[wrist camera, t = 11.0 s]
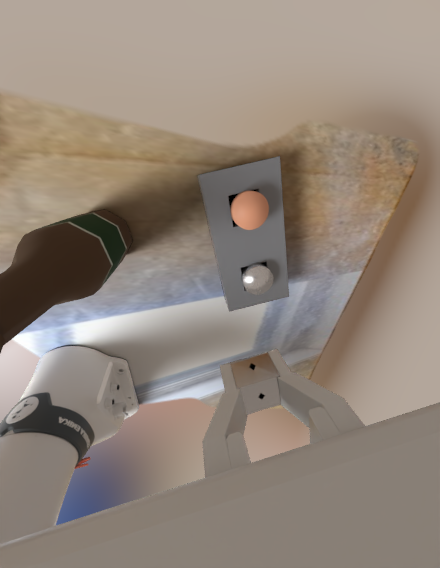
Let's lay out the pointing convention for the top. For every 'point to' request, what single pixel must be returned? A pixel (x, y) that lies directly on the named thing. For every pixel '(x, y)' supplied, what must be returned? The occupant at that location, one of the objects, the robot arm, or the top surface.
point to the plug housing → (246, 243)
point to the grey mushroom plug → (256, 278)
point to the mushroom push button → (249, 209)
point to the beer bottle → (60, 267)
